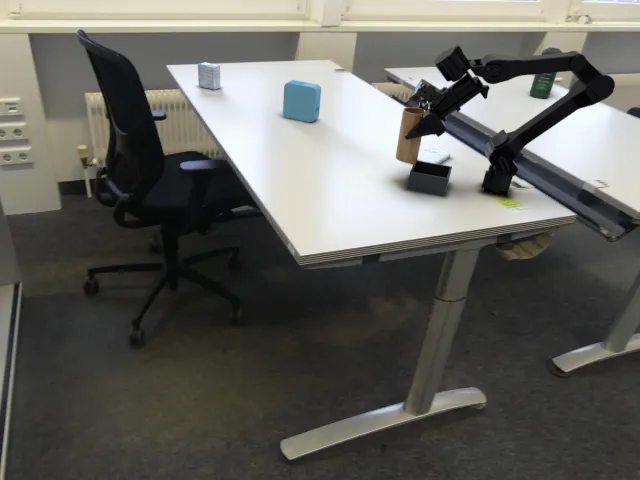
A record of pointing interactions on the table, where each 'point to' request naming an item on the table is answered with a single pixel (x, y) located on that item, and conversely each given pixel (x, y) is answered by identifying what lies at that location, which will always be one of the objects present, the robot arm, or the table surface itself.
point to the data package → (301, 100)
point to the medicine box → (209, 75)
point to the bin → (429, 178)
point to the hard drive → (432, 155)
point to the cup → (406, 148)
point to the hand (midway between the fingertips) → (405, 134)
